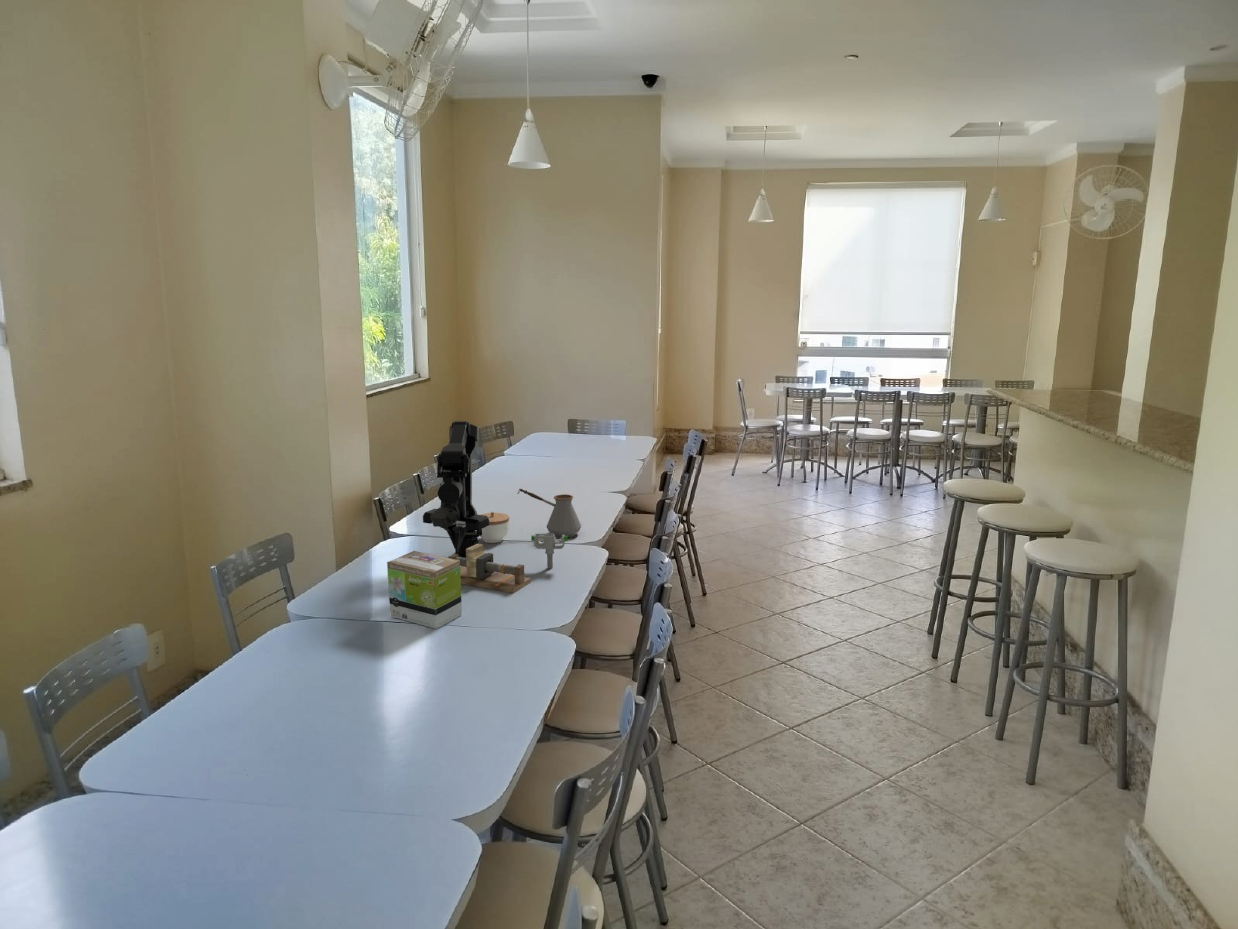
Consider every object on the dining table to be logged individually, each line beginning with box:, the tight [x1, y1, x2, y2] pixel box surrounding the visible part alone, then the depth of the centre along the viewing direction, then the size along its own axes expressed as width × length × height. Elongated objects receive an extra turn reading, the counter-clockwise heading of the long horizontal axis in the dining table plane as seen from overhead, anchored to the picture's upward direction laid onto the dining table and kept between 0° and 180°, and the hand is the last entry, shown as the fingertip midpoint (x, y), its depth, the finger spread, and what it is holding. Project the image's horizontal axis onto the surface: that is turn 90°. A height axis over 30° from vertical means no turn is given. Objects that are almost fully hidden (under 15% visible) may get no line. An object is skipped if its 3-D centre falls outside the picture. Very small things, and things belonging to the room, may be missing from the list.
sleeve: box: [466, 543, 488, 577], centre depth 219 cm, size 3×5×8 cm, turn 156°
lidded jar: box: [479, 511, 510, 544], centre depth 255 cm, size 11×11×9 cm
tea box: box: [386, 550, 463, 630], centre depth 193 cm, size 15×10×15 cm, turn 62°
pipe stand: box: [448, 553, 532, 594], centre depth 218 cm, size 23×9×6 cm, turn 66°
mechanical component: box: [531, 533, 568, 570], centre depth 229 cm, size 3×10×10 cm, turn 89°
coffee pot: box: [517, 488, 582, 539], centre depth 262 cm, size 21×12×15 cm, turn 80°
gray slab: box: [477, 552, 494, 579], centre depth 218 cm, size 2×6×6 cm, turn 156°
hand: (457, 548), depth 221 cm, fingers closed
